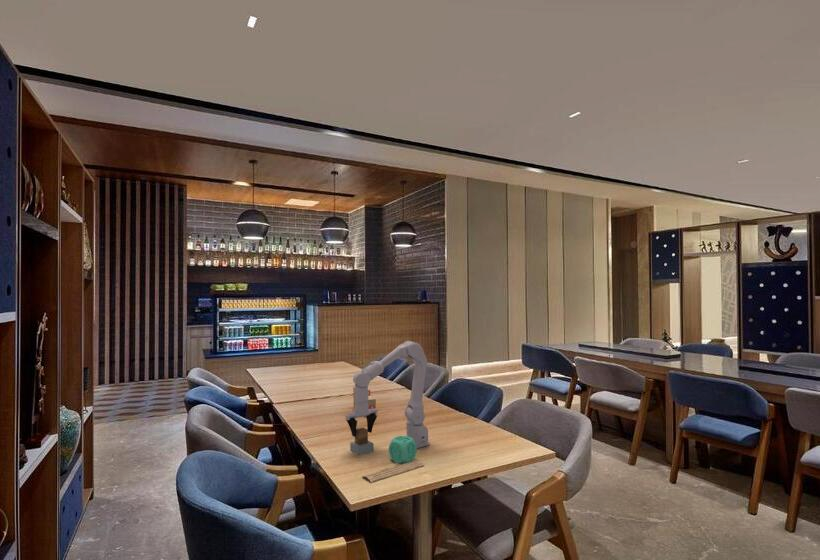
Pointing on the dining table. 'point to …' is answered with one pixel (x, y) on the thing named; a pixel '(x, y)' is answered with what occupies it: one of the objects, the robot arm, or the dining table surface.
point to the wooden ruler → (394, 471)
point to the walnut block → (361, 436)
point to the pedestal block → (361, 447)
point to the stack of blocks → (370, 400)
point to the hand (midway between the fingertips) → (361, 434)
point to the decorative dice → (402, 449)
